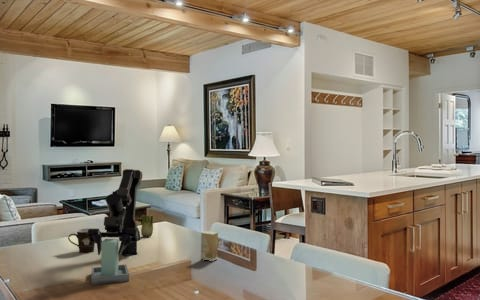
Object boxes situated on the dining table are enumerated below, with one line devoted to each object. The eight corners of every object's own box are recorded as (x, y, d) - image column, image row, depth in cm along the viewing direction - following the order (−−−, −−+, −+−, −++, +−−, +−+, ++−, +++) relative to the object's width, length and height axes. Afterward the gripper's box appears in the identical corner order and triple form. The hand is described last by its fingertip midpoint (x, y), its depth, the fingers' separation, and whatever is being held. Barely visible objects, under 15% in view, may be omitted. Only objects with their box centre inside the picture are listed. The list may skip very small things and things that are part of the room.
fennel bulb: (153, 236, 222) (153, 214, 221) (149, 238, 217) (149, 216, 217) (144, 235, 223) (144, 214, 223) (139, 237, 218) (139, 215, 218)
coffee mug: (99, 249, 193) (99, 228, 193) (91, 254, 184) (91, 232, 184) (76, 248, 194) (76, 227, 194) (66, 253, 185) (67, 231, 185)
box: (126, 270, 161) (126, 264, 161) (129, 280, 148) (129, 274, 148) (91, 273, 156) (91, 267, 156) (91, 284, 144) (91, 278, 144)
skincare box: (200, 260, 176) (200, 232, 176) (205, 257, 180) (205, 230, 180) (212, 262, 173) (213, 234, 173) (218, 259, 177) (218, 232, 177)
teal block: (105, 272, 155) (105, 238, 155) (118, 272, 155) (118, 239, 155) (101, 276, 150) (101, 242, 150) (114, 276, 150) (114, 242, 150)
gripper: (88, 207, 155) (78, 243, 145) (137, 207, 156) (130, 243, 146) (94, 224, 163) (85, 258, 153) (140, 224, 164) (135, 258, 154)
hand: (108, 254), depth 151 cm, fingers open, 7 cm apart
